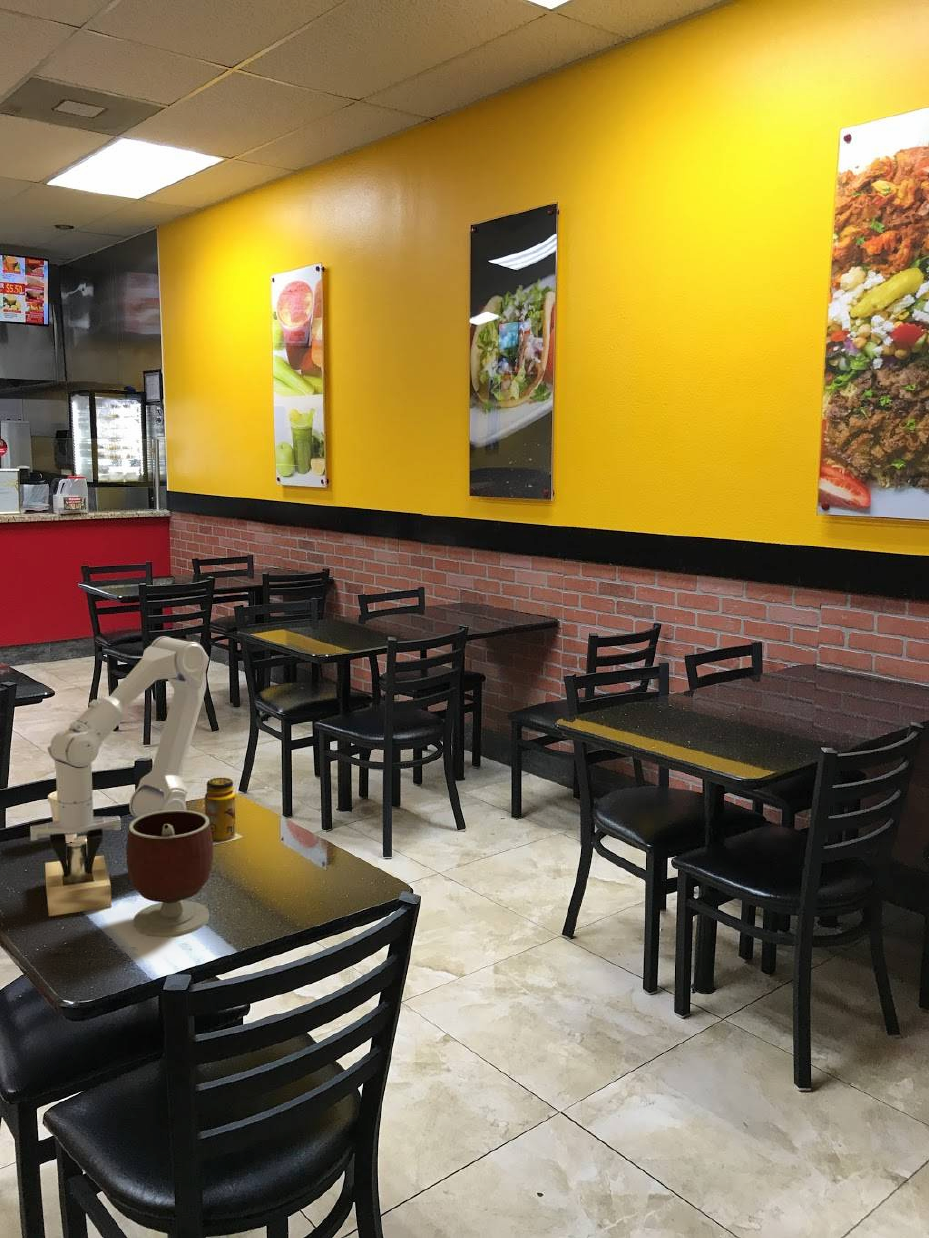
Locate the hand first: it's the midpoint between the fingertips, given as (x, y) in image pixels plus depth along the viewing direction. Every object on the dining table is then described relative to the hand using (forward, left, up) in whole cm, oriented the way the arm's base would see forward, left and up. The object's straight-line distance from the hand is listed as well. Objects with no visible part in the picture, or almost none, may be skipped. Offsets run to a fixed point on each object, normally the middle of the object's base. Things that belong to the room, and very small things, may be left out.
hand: (77, 873), depth 175 cm
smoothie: (+15, -26, -5) cm, 30 cm away
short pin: (+8, -18, -5) cm, 20 cm away
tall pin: (0, 0, -3) cm, 3 cm away
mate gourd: (-19, +6, -5) cm, 21 cm away
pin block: (+1, -2, -5) cm, 5 cm away
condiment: (-14, -32, -5) cm, 35 cm away
